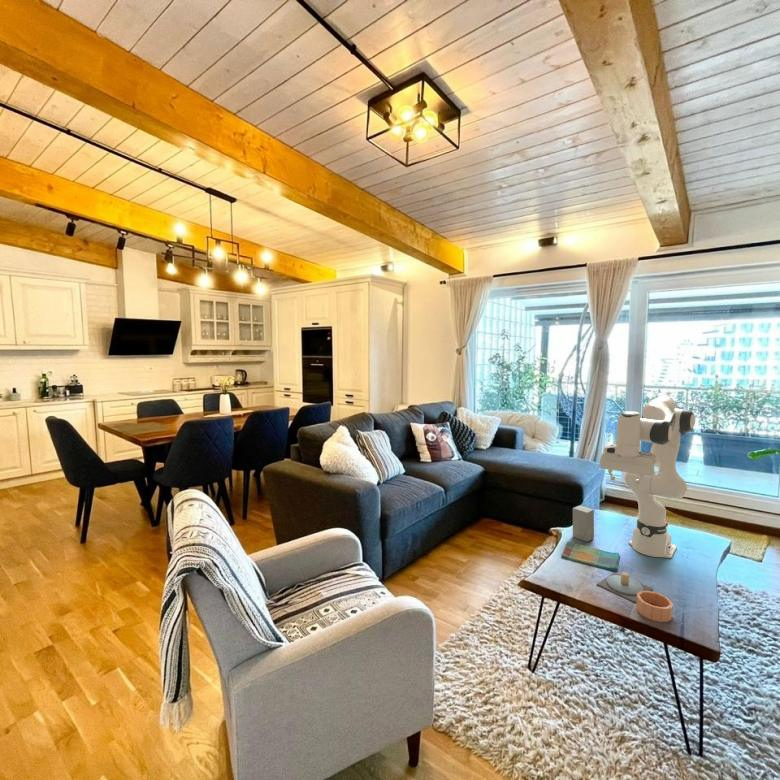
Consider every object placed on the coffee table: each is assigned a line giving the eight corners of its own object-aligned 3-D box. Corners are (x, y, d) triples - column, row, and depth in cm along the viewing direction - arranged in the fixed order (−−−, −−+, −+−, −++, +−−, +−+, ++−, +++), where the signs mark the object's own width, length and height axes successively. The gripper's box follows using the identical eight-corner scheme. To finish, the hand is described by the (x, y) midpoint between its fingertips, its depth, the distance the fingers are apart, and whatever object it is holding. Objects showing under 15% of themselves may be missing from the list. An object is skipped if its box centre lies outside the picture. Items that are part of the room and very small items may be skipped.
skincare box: (594, 539, 213) (595, 509, 211) (586, 543, 209) (587, 512, 207) (578, 533, 220) (580, 504, 218) (570, 536, 216) (572, 507, 214)
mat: (614, 573, 180) (614, 572, 180) (652, 589, 168) (652, 588, 168) (596, 584, 171) (596, 583, 171) (635, 603, 159) (635, 601, 159)
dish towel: (618, 574, 181) (618, 568, 181) (560, 559, 193) (561, 554, 193) (620, 557, 195) (620, 552, 195) (566, 544, 208) (567, 539, 207)
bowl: (644, 599, 161) (645, 587, 161) (676, 614, 153) (677, 601, 152) (630, 610, 155) (631, 597, 155) (663, 625, 146) (664, 612, 146)
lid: (615, 574, 179) (616, 562, 178) (648, 588, 168) (649, 576, 168) (600, 583, 171) (601, 572, 171) (634, 599, 161) (634, 587, 160)
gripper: (656, 452, 172) (654, 484, 173) (601, 445, 183) (599, 476, 184) (656, 455, 166) (653, 488, 168) (599, 447, 178) (597, 479, 179)
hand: (625, 482), depth 176 cm, fingers open, 8 cm apart
